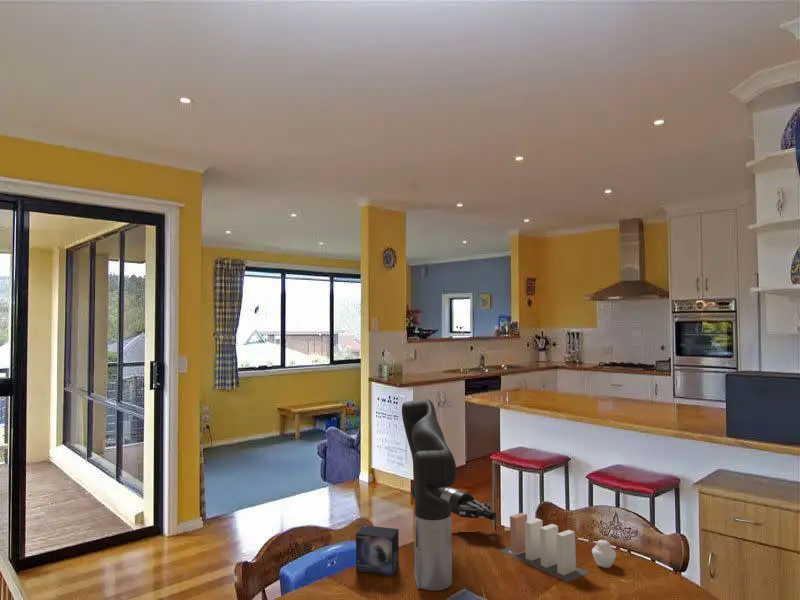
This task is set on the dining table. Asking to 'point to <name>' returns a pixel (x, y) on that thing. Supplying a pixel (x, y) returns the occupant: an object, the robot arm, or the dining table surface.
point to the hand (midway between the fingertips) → (494, 516)
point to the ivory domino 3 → (566, 552)
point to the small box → (377, 550)
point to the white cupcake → (603, 554)
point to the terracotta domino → (517, 532)
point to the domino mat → (550, 570)
